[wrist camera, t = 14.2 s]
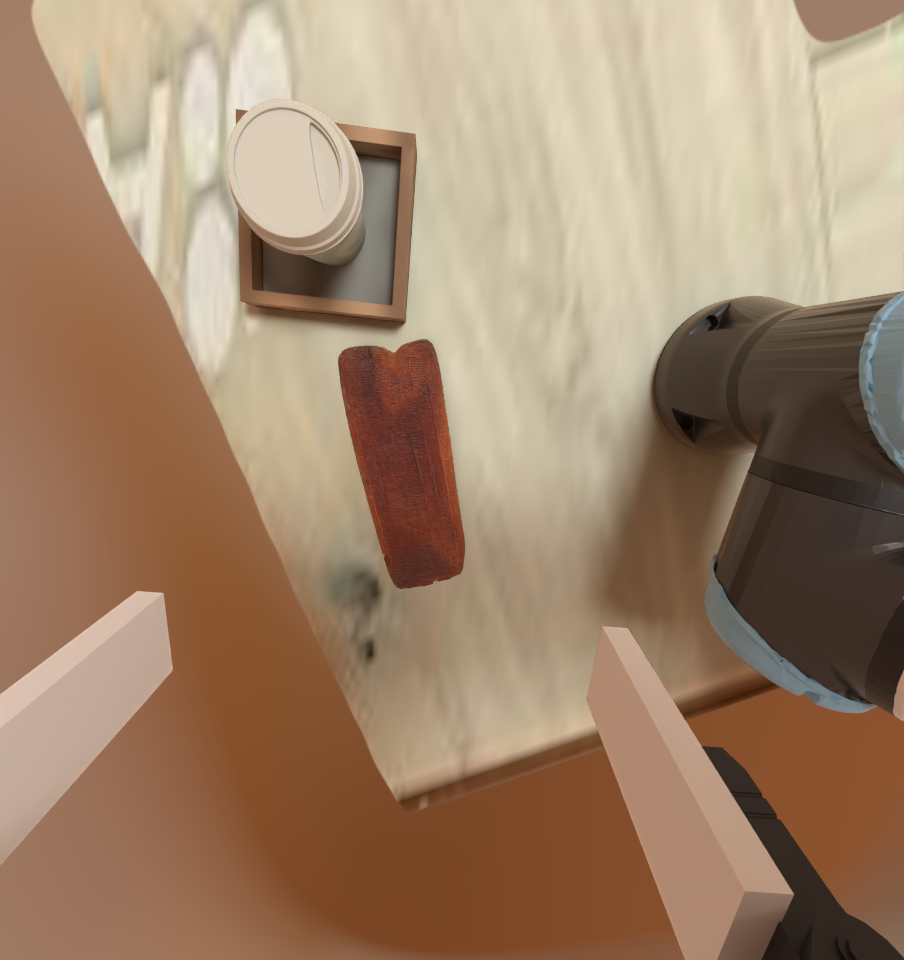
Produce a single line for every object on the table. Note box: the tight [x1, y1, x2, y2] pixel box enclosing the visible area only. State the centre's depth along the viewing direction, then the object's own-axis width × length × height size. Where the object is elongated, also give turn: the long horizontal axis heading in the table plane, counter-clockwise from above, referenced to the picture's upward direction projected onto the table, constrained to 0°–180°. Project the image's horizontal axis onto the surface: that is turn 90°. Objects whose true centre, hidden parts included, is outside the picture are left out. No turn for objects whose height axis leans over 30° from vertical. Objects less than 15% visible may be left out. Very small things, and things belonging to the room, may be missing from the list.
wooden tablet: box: [338, 339, 465, 589], centre depth 45 cm, size 27×10×2 cm, turn 8°
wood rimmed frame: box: [236, 109, 417, 323], centre depth 37 cm, size 14×14×4 cm
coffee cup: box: [227, 99, 365, 266], centre depth 32 cm, size 8×8×12 cm
